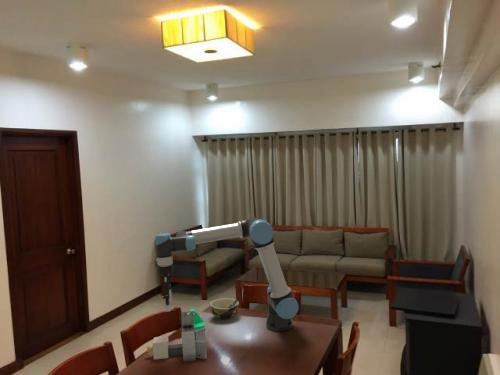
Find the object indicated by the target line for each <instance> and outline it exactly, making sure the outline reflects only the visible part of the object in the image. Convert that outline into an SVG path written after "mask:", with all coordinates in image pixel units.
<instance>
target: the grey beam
mask: <svg viewBox="0 0 500 375" xmlns="http://www.w3.org/2000/svg"><path fill="white" fill-rule="evenodd" d="M204 342H205V341H204ZM146 349H147V350H146V351H147V352H148V353H150V352H152V354H153V360H160V359H161V360H162V359H163V360H164V359H168V358H169V357H176V356H178V357H179V356H183V347H182V343H177V344H170V343H169V336H168V335H167V336H165V335H164V336H155V337H153V341H152V345H147V348H146Z"/></svg>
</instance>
